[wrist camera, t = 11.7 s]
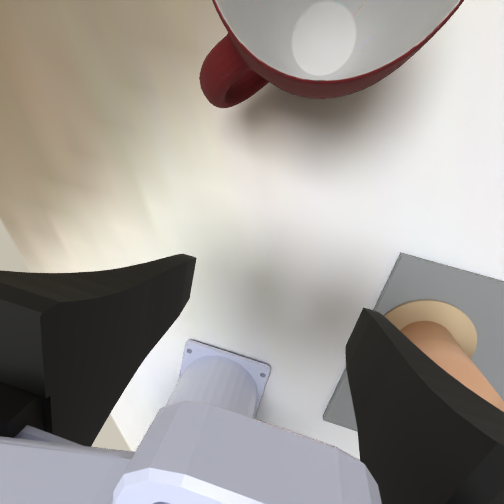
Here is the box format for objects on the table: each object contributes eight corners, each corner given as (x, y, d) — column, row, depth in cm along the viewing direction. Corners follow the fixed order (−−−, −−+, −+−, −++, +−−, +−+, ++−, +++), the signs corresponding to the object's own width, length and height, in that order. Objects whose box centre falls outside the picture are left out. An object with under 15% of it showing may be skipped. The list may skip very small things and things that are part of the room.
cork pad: (445, 387, 22) (447, 391, 22) (358, 360, 23) (359, 363, 23) (494, 316, 20) (497, 319, 19) (394, 287, 20) (396, 289, 20)
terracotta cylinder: (439, 371, 22) (484, 448, 16) (386, 357, 22) (412, 427, 16) (462, 329, 20) (521, 397, 15) (405, 314, 21) (441, 376, 15)
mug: (277, 169, 19) (251, 189, 10) (200, 69, 18) (91, -11, 9) (426, 46, 16) (594, -97, 7) (342, -92, 14) (404, -511, 5)
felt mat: (571, 499, 24) (575, 504, 24) (322, 416, 26) (323, 420, 26) (745, 348, 18) (754, 352, 18) (400, 252, 20) (402, 254, 19)
